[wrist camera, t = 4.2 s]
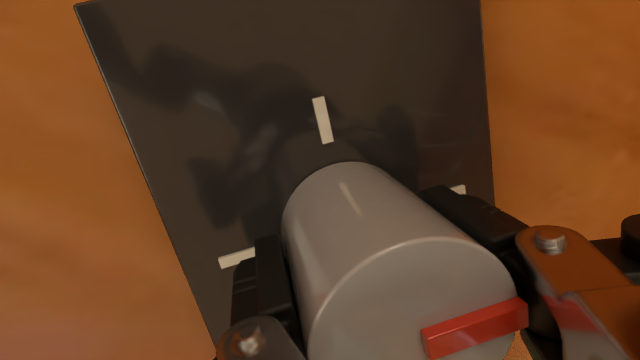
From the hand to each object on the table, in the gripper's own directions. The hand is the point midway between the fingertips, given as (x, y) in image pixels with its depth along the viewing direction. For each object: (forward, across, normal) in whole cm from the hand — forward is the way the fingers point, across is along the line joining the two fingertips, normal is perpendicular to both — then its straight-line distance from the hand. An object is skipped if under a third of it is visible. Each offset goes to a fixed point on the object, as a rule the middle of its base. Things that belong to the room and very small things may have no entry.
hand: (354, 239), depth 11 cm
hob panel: (+4, 0, -1) cm, 4 cm away
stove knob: (+1, 0, 0) cm, 1 cm away
